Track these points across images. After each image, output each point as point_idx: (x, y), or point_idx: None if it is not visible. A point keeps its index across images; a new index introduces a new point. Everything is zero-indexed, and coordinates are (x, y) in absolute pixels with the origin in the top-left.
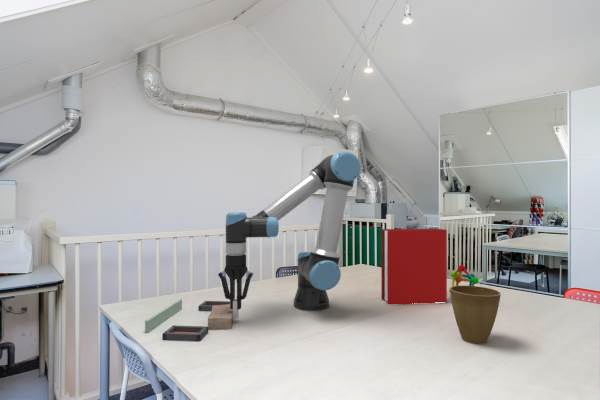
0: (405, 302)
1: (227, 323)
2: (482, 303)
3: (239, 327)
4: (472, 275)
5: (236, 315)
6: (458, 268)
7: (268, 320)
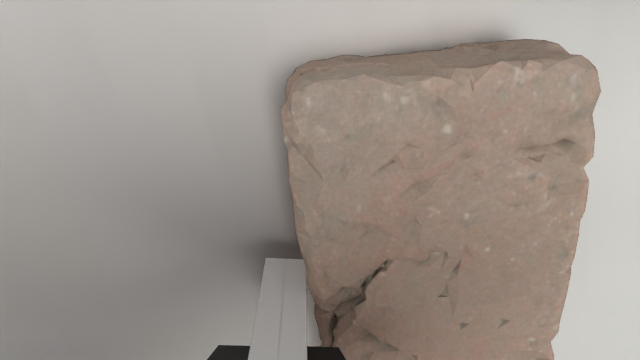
0: None
1: (323, 63)
2: None
3: (212, 122)
4: None
5: (265, 279)
6: None
7: (6, 308)
